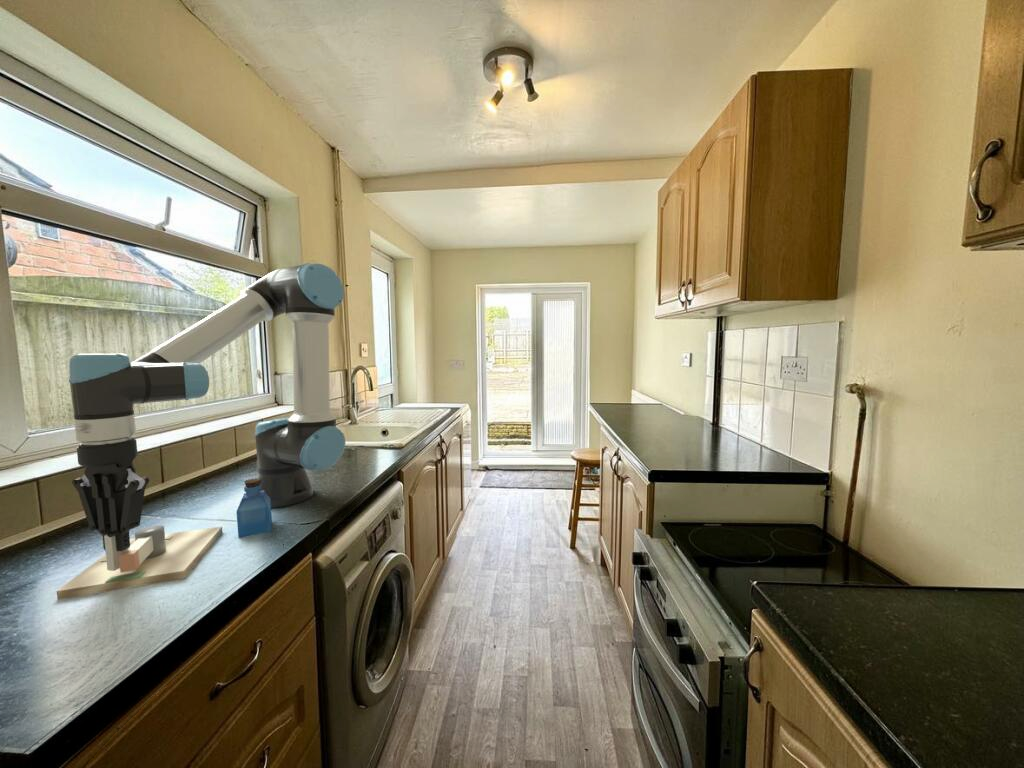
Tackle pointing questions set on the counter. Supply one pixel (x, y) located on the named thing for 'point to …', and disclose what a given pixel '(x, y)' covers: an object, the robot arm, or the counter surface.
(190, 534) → the board
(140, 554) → the hammer
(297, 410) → the robot arm
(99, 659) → the counter surface
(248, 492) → the perfume bottle
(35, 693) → the counter surface
